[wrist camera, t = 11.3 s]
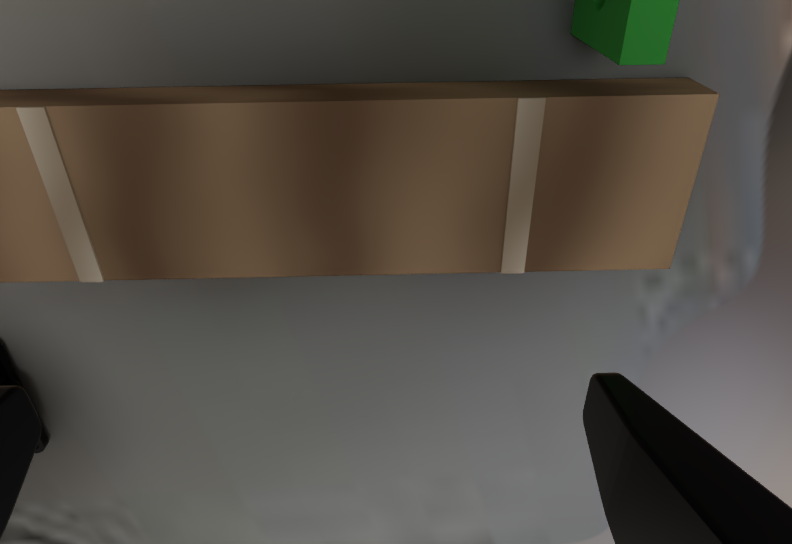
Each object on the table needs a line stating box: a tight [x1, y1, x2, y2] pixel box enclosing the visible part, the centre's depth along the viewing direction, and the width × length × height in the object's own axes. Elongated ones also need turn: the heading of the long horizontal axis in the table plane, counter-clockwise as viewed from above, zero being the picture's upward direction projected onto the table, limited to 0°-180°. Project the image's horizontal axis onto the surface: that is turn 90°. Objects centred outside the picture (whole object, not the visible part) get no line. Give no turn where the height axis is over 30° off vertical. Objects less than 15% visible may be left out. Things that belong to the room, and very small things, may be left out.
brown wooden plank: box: [0, 78, 719, 282], centre depth 19 cm, size 24×6×2 cm, turn 91°
